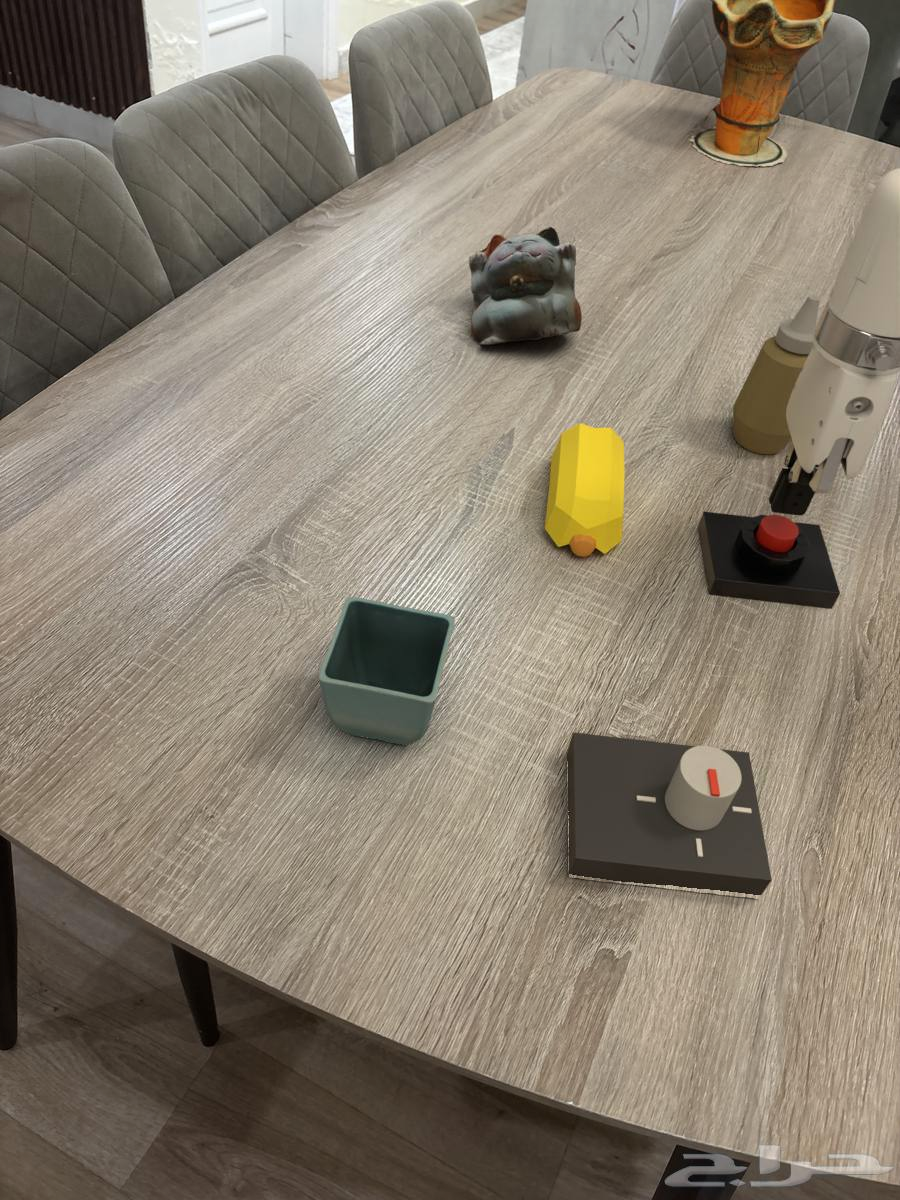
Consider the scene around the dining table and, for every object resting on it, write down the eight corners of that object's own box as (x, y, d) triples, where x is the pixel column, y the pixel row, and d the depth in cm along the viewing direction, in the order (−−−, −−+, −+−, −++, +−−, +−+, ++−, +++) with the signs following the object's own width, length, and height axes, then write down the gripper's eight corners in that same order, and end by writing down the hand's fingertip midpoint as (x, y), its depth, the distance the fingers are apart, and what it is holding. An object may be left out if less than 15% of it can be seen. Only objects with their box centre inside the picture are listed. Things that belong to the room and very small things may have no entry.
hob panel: (737, 773, 76) (750, 750, 74) (758, 900, 68) (772, 879, 66) (566, 753, 76) (573, 730, 74) (567, 878, 68) (575, 856, 66)
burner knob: (661, 776, 72) (678, 739, 68) (719, 782, 72) (737, 745, 68) (667, 827, 68) (685, 791, 65) (727, 833, 69) (747, 798, 65)
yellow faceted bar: (540, 559, 92) (618, 571, 92) (551, 507, 87) (633, 520, 87) (551, 451, 105) (619, 461, 104) (561, 400, 100) (633, 411, 99)
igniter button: (789, 530, 93) (795, 516, 91) (795, 554, 90) (802, 541, 89) (753, 525, 93) (758, 512, 91) (758, 550, 90) (764, 536, 89)
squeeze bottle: (712, 442, 108) (763, 298, 96) (739, 412, 113) (790, 271, 100) (778, 471, 106) (839, 326, 93) (803, 438, 110) (864, 297, 98)
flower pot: (427, 772, 74) (435, 702, 67) (317, 750, 74) (316, 678, 68) (446, 687, 80) (456, 615, 73) (345, 667, 80) (346, 594, 74)
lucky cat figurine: (453, 348, 118) (448, 229, 114) (485, 342, 128) (481, 234, 124) (570, 344, 112) (569, 219, 108) (593, 339, 123) (593, 225, 119)
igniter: (811, 540, 98) (826, 511, 95) (831, 609, 91) (847, 579, 88) (697, 527, 97) (708, 497, 95) (708, 595, 90) (720, 565, 88)
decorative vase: (653, 142, 174) (693, -35, 154) (725, 120, 186) (771, -47, 166) (745, 182, 164) (801, -2, 144) (815, 156, 176) (876, -17, 156)
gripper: (937, 392, 70) (841, 567, 83) (888, 295, 81) (809, 465, 94) (839, 379, 70) (758, 557, 83) (802, 284, 81) (735, 456, 94)
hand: (785, 508), depth 89 cm, fingers closed
